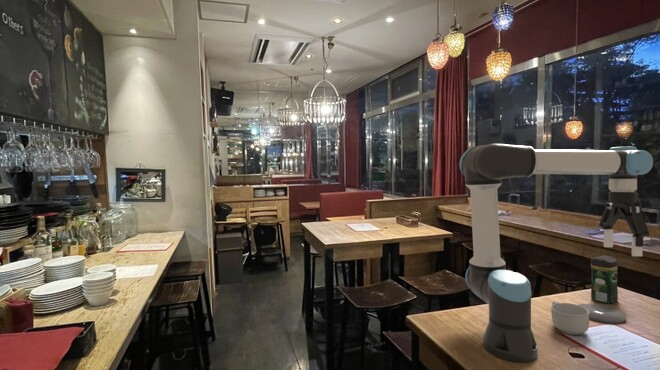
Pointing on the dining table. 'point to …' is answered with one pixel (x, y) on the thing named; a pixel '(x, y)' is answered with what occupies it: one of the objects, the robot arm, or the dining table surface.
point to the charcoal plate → (604, 313)
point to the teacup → (570, 318)
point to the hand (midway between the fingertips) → (621, 251)
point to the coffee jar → (604, 279)
